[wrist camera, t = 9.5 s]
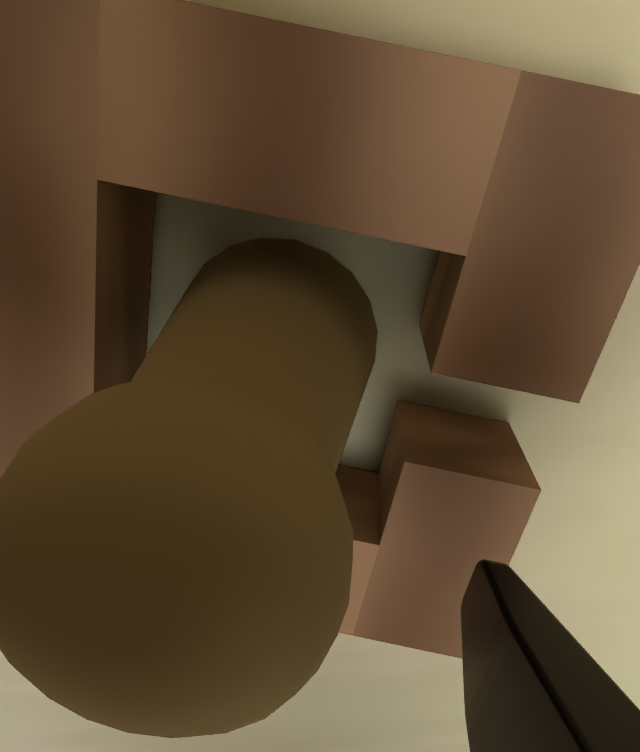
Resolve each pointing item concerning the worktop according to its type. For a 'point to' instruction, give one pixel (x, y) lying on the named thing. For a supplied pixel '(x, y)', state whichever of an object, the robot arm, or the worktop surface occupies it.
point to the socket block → (328, 209)
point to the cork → (195, 506)
